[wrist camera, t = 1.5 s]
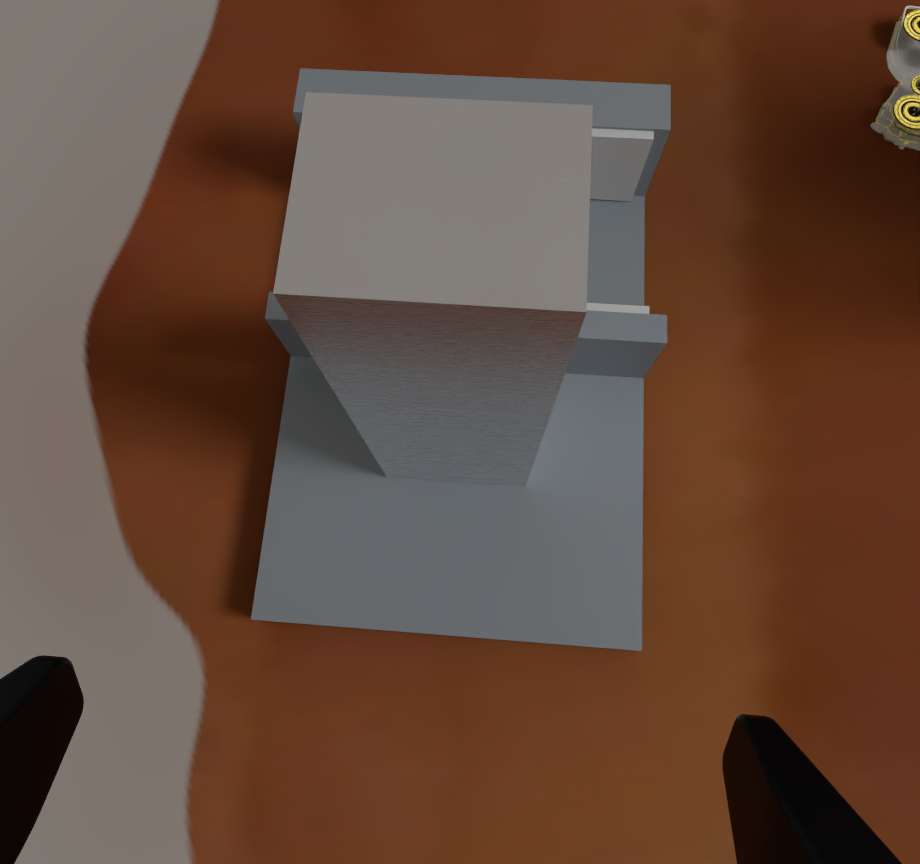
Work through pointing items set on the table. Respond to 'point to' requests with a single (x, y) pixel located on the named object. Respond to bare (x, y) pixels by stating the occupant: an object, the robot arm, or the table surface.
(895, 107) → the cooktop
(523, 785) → the table surface
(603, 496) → the vise
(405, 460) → the aluminium bar
